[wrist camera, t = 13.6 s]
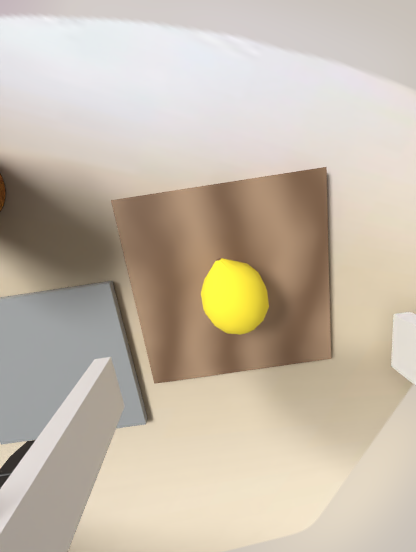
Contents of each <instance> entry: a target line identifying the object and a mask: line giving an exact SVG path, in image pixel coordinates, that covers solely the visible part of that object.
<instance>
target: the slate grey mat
mask: <svg viewBox="0 0 416 552" xmlns="http://www.w3.org/2000/svg"><path fill="white" fill-rule="evenodd" d="M106 357H111V359H112V363H113V366H114V370H115V373H116V377H117V381H118V384H119V388H120V391H121V395H122V398H123V402H124V406H125V407H124V409H123V412H122V414H121V417H120V419H119V422H118V425H117V427H116V428H122V427H130V426H137V425H144V424H146V422H147V414H146V410H145V406H144V402H143V399H142V395H141V391H140V387H139V383H138V379H137V375H136V371H135V367H134V364H133V360H132V356H131V352H130V348H129V344H128V340H127V336H126V332H125V328H124V325H123V321H122V317H121V313H120V309H119V305H118V301H117V297H116V293H115V290H114V286H113V282H112V281H107V282H101V283H94V284H87V285H81V286H74V287H67V288H61V289H54V290H47V291H41V292H34V293H27V294H21V295H14V296H7V297H0V443H1V444H8V443H15V442H22V441H29V440H36V439H37V438H38V436H39V435H40V434H41V432H42V431H43V429H44V428H45V427H46V425H47V424H48V423H49V421H50V420H51V418H52V417H53V416H54V414H55V413H56V412H57V410H58V409H59V407H60V406H61V405H62V403H63V402H64V401H65V399H66V398H67V396H68V395H69V394H70V392H71V391H72V389H73V388H74V387H75V385H76V384H77V383H78V381H79V380H80V378H81V377H82V376H83V374H84V373H85V372H86V370H87V369H88V367H89V366H90V365H91V363H92V362H93V361H94V359H99V358H106Z"/></svg>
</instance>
